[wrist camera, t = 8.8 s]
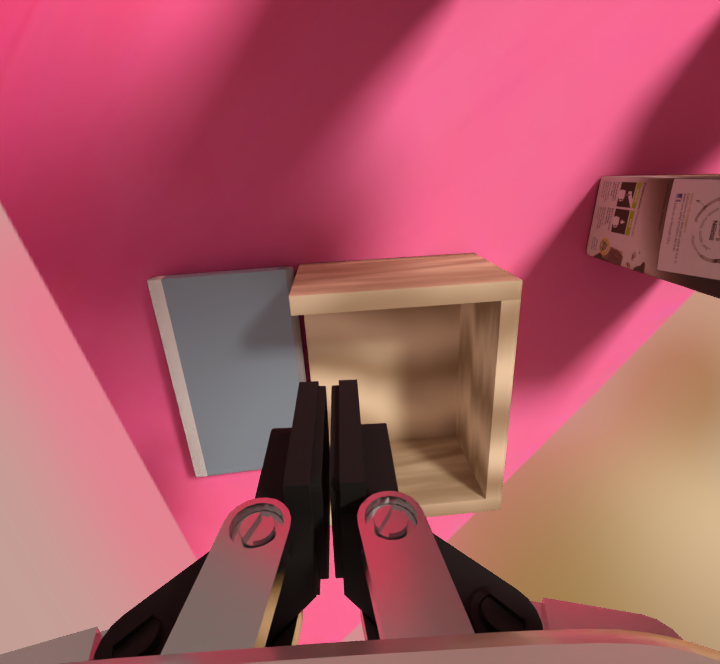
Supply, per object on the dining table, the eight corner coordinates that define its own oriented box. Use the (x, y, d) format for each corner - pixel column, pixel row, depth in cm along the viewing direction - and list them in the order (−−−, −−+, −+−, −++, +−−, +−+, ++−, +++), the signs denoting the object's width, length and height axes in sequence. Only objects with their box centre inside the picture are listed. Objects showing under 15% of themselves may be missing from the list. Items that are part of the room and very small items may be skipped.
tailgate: (293, 265, 32) (152, 276, 31) (293, 268, 31) (146, 280, 30) (314, 453, 38) (199, 468, 37) (315, 462, 37) (196, 477, 36)
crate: (299, 264, 32) (288, 296, 24) (473, 252, 33) (522, 280, 24) (319, 450, 39) (316, 527, 30) (464, 438, 39) (500, 510, 31)
